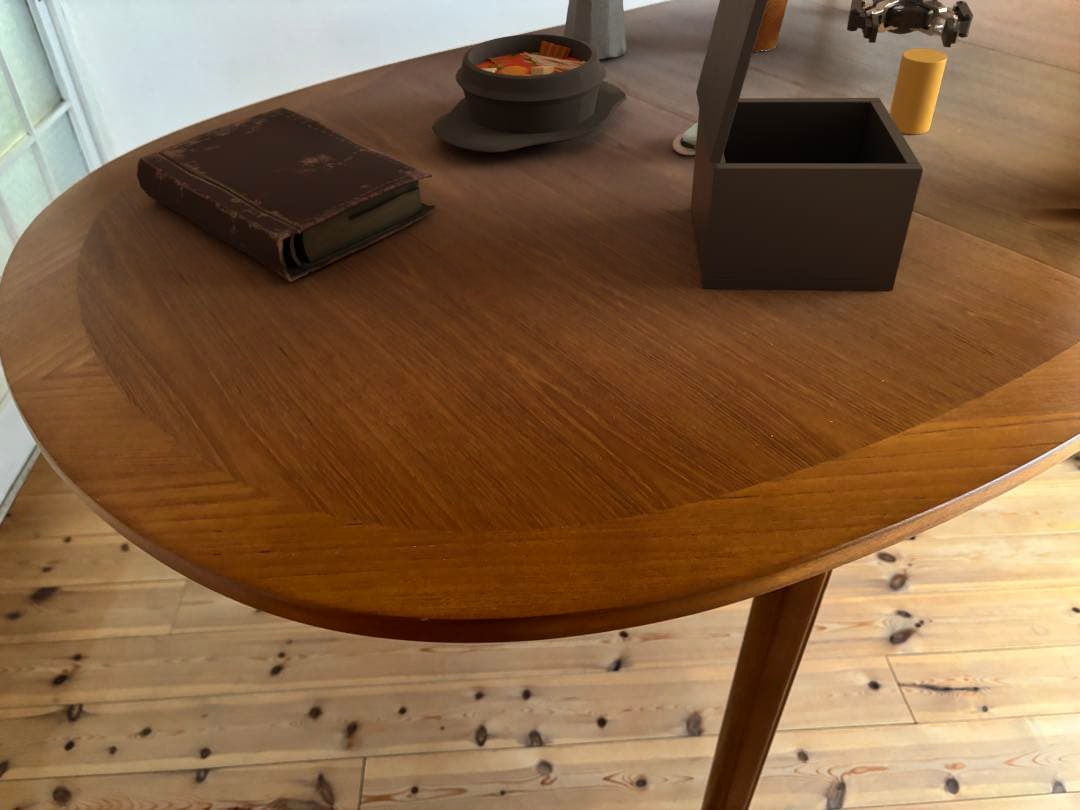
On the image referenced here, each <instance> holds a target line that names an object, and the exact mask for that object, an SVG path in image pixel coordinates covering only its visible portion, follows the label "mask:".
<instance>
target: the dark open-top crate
mask: <svg viewBox="0 0 1080 810" xmlns="http://www.w3.org/2000/svg"><path fill="white" fill-rule="evenodd" d="M889 113H890V112H889V111H888V109H887V108H886V106H885V104H884V103H883V102H882V100H881V98H880V97H740V98H739V101H738V104H737V108H736V111H735V115H734V118H733V121H732V125H731V128H730V132H729V135H728V139H727V142H726V145H725V149H724V152H723V156H722V159H721V162H720V163H716V162H710V159H709V154H708V149H707V144H706V139H705V134H704V129H703V124H702V119H701V114H700V109H699V108H698V119H697V122H698V128H697V140H696V152H695V155H694V165H693V175H692V189H691V201H690V213H691V219H692V226H693V234H694V241H695V248H696V254H697V261H698V268H699V274H700V283H701V288H702V289H704V290H706V289H707V290H711V289H712V290H791V291H793V290H795V291H796V290H797V291H888V292H889V291H892V292H893V290H894V287H895V284H896V278H897V275H898V271H899V267H900V263H901V259H902V256H903V252H904V247H905V243H906V239H907V235H908V231H909V228H910V223H911V219H912V216H913V211H914V209H915V204H916V201H917V196H918V191H919V189H920V184H921V181H922V176H923V172H924V167H923V166H922V164H921V163H920V161H919V160H918V158H917V156H916V155H915V153H914V151H913V150H912V148H911V147H910V145H909V143H908V141H907V140H906V138H905V137H904V135H903V133H901V132H900V130H899V129H898V127H897V126H896V124H895V122H894V121H893V119H892V118H891V116H890V114H889Z"/></svg>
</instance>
